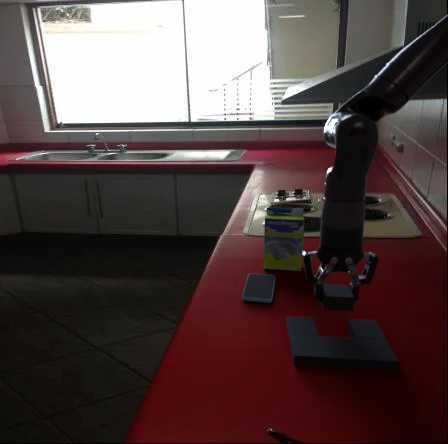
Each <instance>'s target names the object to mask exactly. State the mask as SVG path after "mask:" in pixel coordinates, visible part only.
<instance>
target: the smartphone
mask: <svg viewBox="0 0 448 444" xmlns="http://www.w3.org/2000/svg"><path fill="white" fill-rule="evenodd" d="M275 285H276V275H274V274H269V273H268V274H265V273H253V272H251V273H248V274H247V278H246V281H245V285H244V288H243V291H242V294H241V299H242V300H243V301H247V302H254V303H255V302H257V303H266V304H269V303H272V302H273V298H274V292H275Z"/></svg>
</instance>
